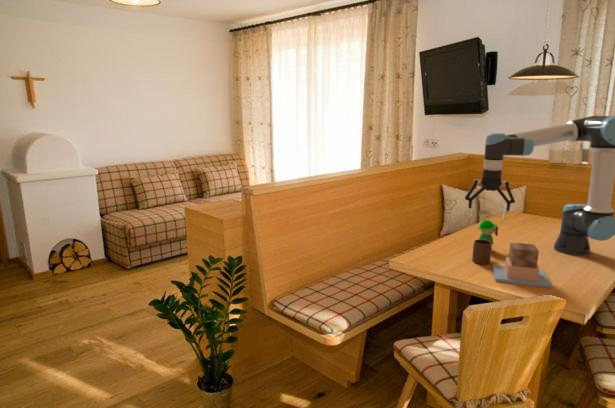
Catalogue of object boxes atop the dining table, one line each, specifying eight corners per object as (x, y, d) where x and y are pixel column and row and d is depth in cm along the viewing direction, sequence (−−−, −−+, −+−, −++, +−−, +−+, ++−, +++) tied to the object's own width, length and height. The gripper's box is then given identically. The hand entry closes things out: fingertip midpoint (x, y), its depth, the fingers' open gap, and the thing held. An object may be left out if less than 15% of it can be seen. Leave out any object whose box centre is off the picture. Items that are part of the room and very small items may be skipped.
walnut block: (532, 260, 177) (534, 244, 176) (536, 268, 169) (538, 251, 167) (508, 258, 180) (510, 242, 178) (511, 265, 171) (513, 248, 170)
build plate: (544, 273, 180) (546, 259, 178) (551, 288, 165) (553, 273, 164) (492, 267, 186) (494, 253, 185) (495, 281, 172) (497, 266, 170)
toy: (496, 253, 205) (499, 222, 201) (477, 251, 206) (480, 221, 203) (492, 247, 213) (495, 218, 210) (473, 246, 215) (476, 217, 212)
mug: (476, 255, 202) (478, 236, 200) (493, 258, 198) (495, 238, 196) (470, 262, 192) (472, 242, 190) (488, 266, 188) (490, 245, 186)
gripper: (523, 169, 184) (517, 217, 189) (461, 166, 192) (457, 212, 197) (525, 171, 178) (519, 221, 182) (462, 169, 185) (458, 216, 190)
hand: (487, 216), depth 190 cm, fingers open, 13 cm apart
